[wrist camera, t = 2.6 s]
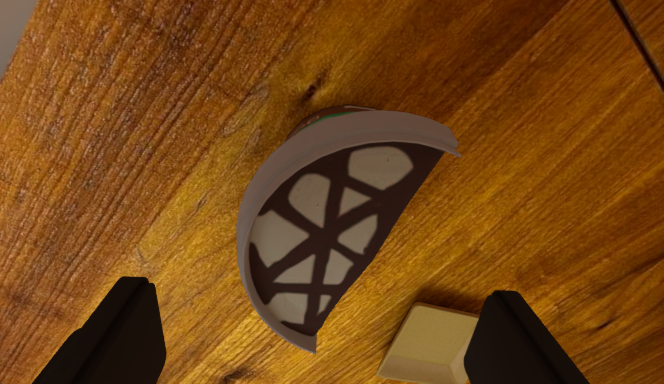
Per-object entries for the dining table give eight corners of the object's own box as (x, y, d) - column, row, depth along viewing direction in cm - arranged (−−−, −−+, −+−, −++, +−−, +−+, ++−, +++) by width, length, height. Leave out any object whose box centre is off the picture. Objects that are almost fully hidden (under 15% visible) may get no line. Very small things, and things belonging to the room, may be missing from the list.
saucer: (497, 306, 29) (510, 325, 28) (451, 370, 33) (460, 391, 31) (408, 285, 28) (416, 304, 26) (369, 355, 31) (373, 377, 29)
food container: (311, 40, 19) (315, 52, 10) (400, 93, 21) (471, 142, 12) (230, 210, 24) (183, 322, 15) (309, 242, 25) (310, 361, 16)
